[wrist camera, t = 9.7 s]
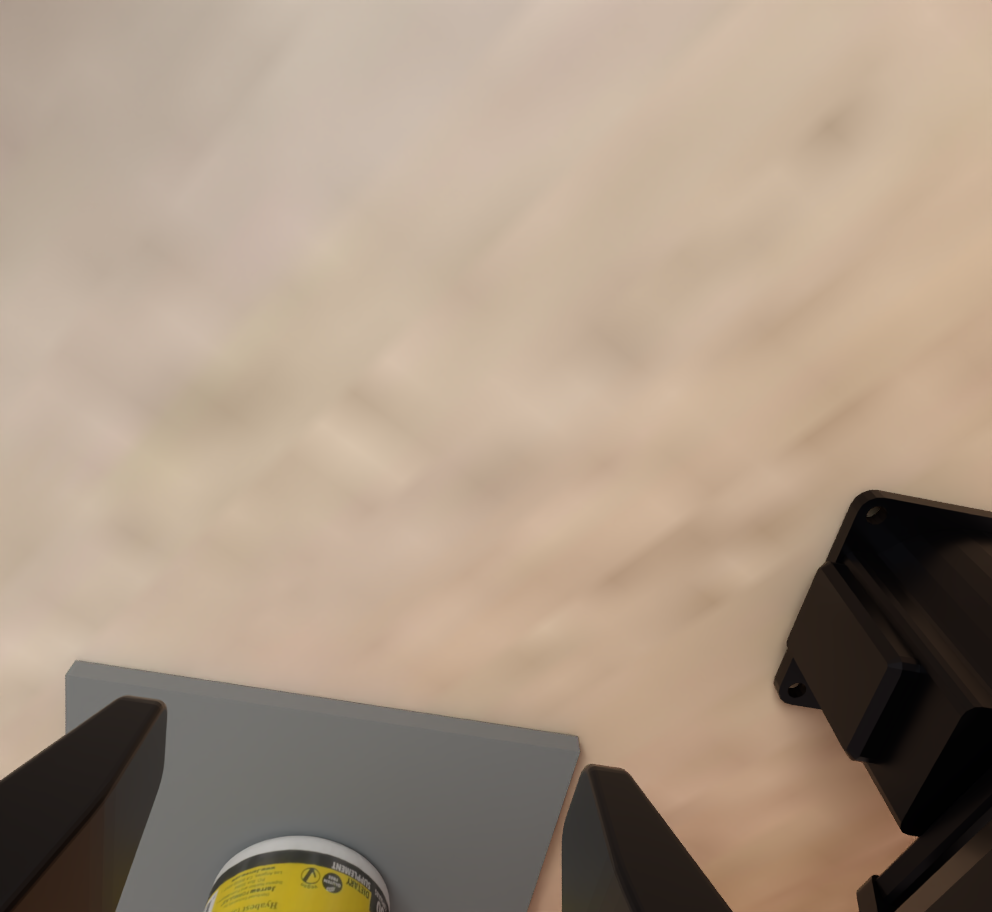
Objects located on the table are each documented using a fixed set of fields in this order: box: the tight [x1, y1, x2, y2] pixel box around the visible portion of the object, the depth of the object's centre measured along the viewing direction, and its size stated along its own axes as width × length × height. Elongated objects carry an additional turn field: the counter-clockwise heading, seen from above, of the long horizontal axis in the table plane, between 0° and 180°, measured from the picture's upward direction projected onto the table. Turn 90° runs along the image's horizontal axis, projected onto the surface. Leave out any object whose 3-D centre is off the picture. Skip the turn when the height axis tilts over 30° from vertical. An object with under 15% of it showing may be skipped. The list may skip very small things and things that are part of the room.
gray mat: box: [65, 661, 580, 912], centre depth 26 cm, size 14×14×1 cm
